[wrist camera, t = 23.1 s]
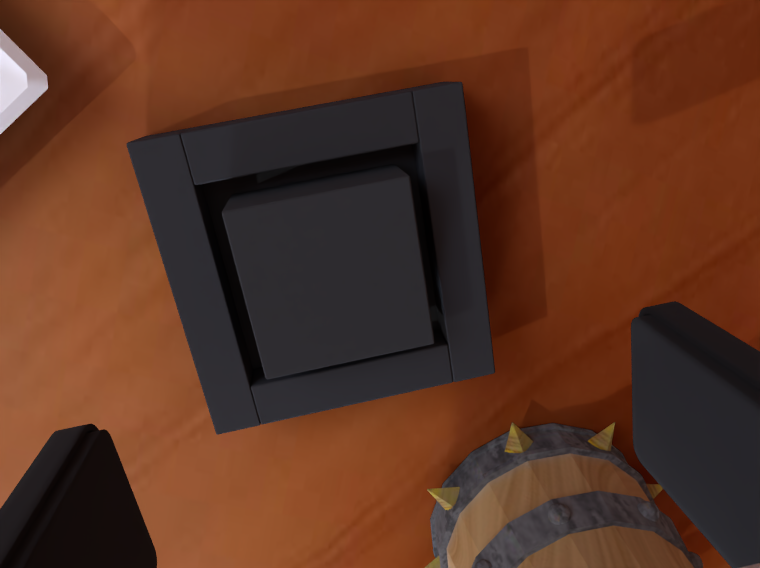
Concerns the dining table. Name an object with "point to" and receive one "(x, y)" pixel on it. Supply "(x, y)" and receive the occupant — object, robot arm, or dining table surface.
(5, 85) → the plate
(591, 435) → the mug
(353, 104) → the base pad
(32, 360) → the dining table surface
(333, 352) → the small pad
